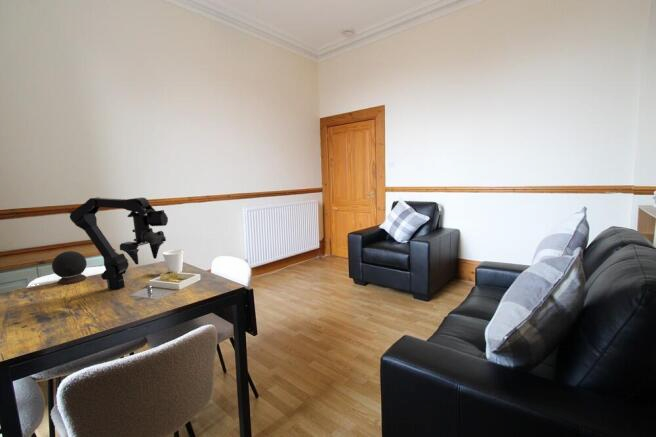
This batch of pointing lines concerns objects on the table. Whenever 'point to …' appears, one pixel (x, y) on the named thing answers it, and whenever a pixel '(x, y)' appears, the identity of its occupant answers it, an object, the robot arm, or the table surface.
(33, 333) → the table surface
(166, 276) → the strut
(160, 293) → the stud plate
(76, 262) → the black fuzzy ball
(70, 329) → the table surface
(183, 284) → the bin
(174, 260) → the cup
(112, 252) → the robot arm
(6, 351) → the table surface
